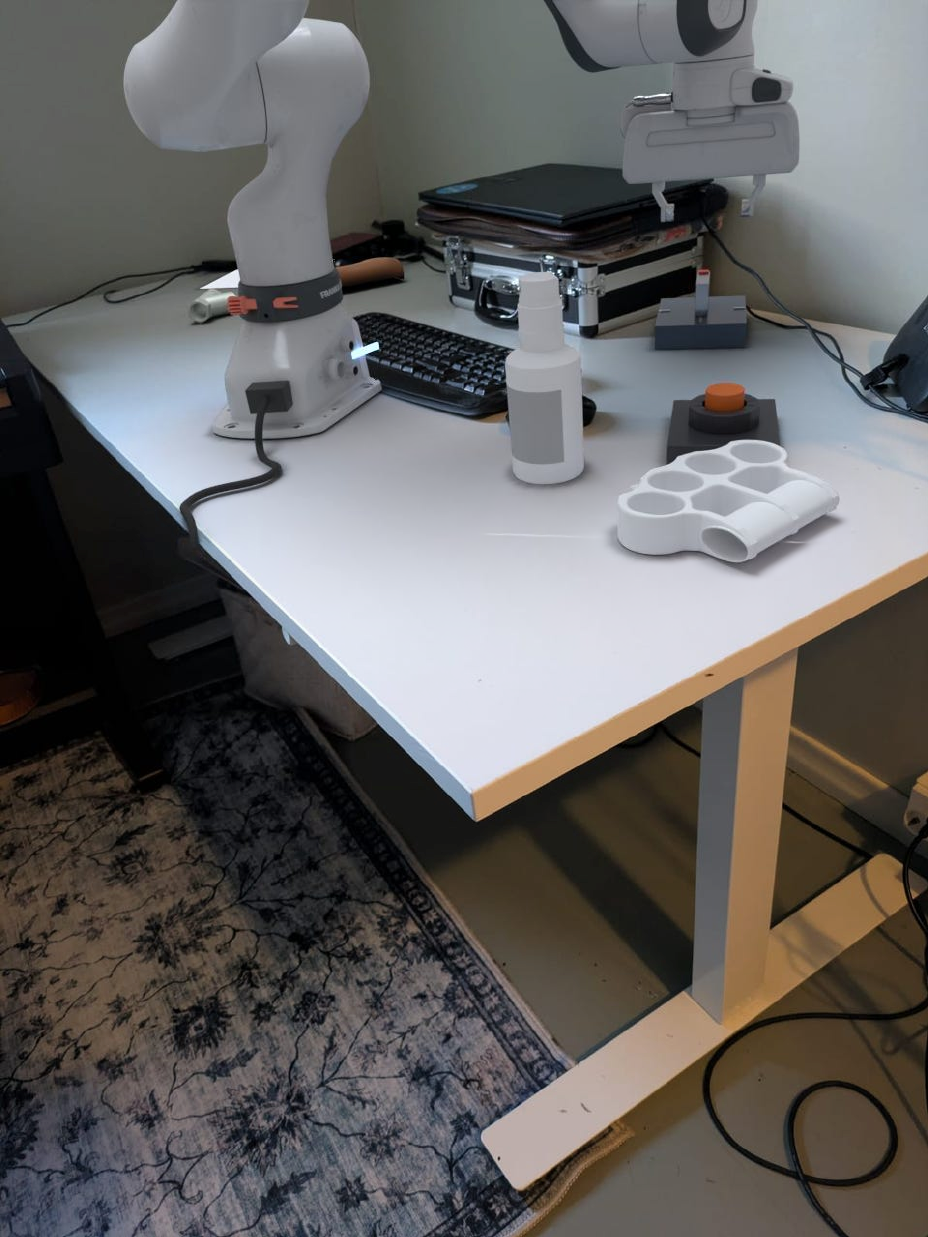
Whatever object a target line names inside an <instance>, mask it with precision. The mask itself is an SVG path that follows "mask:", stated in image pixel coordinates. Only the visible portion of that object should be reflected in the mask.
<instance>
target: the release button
mask: <svg viewBox="0 0 928 1237" xmlns="http://www.w3.org/2000/svg"><path fill="white" fill-rule="evenodd" d="M704 394H705V408H706V409H708V410H713V411H734V410H739V409H742V408H743V407H744V396H745V394H746V388H745V386H743V385H741V384H739V383H734V382H718V383H713V384H710V385H708V386H707V387H706V388H705V391H704Z"/></svg>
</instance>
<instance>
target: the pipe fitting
mask: <svg viewBox="0 0 928 1237" xmlns="http://www.w3.org/2000/svg"><path fill="white" fill-rule="evenodd" d="M229 296H236V297H237V295H235V293H234V292H232V291H228V292H221V291H219V290H217V288H211V289H207V290H206V291H205V292H203V293H202V294H200V296H199V297H197V298H195V299H194V300H193V301H192V302H190V303H189V304H187V306H186V307H187V312H188V317H189V319H191V320H192V321H194V322H196V323H198V324H201V325H202V324H203V323H204V322H206V321H207V320H209V319H210V318H215V317H219V316H224V315H229V314H230V313H231V312H229V311H228V310H229V309H227V306H229V305H227V302H228V301H227V299H228V297H229Z"/></svg>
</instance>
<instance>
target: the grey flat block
mask: <svg viewBox="0 0 928 1237" xmlns="http://www.w3.org/2000/svg"><path fill="white" fill-rule="evenodd" d="M746 298H747V296H746V295H720V296H718V295H717V296H716V295H715V296H709V304H708V316H703V317H695V296H691V297H689V296H688V297H665V298H664V297H663V298H661V299H660V303H659V307H658V312H657V315H656V320H655V324H654V350H655V351H658V350H690V349H691V350H699V349H701V350H703V349H734V348H735V349H738V348H746V342H747V328H748V318H747V299H746Z"/></svg>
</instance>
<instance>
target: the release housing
mask: <svg viewBox="0 0 928 1237" xmlns="http://www.w3.org/2000/svg"><path fill="white" fill-rule="evenodd" d="M777 410H778V409H777V402H776V399H775V398H757V397H755V396H754V395H751V394H749V393H745V396H744V407H743V408H742V409H739V410H734V411H713V410H708V409H706V408H705V393H704V394H699V395H697V396H695V397H694V398H692V399H673V402H672V408H671V415H670V422H669V429H668V436H667V443H666V462H665V465H668V464H670V463H672V462H673V461H674V460H675V459H676V458H677V457H678V456H681V455H685V454H688V453H692V452H695V451H707V450H713V449H717V448H721V447H723V446H725V445H727V444H728V443H729V442H731V441H737V440H760V441H766V442H770V443H774V444H776V445H779V446H780V447H781V441H780V440H781V438H780V430H779V421H778V413H777V412H778V411H777Z"/></svg>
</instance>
